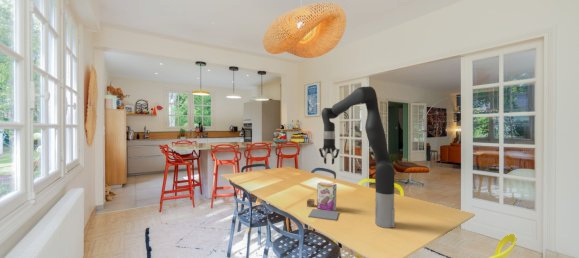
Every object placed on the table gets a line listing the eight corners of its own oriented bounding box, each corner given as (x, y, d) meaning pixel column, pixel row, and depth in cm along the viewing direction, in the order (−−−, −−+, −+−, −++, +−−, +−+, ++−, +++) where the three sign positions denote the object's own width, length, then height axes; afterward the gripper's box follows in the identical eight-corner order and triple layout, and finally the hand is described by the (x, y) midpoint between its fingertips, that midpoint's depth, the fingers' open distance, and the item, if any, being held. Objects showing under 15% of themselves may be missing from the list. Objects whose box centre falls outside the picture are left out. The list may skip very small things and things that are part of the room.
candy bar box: (316, 208, 150) (317, 182, 150) (320, 206, 154) (320, 181, 154) (333, 212, 144) (333, 185, 144) (336, 209, 148) (336, 183, 148)
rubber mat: (338, 212, 144) (338, 211, 144) (336, 220, 132) (336, 219, 132) (312, 209, 149) (312, 208, 149) (308, 216, 137) (308, 215, 137)
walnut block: (314, 205, 157) (314, 199, 157) (312, 207, 153) (313, 201, 153) (308, 204, 158) (308, 198, 158) (306, 206, 154) (306, 200, 154)
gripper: (317, 138, 156) (317, 164, 156) (339, 138, 152) (339, 165, 152) (319, 137, 163) (319, 162, 163) (340, 138, 159) (340, 163, 159)
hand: (329, 163), depth 158 cm, fingers open, 4 cm apart
